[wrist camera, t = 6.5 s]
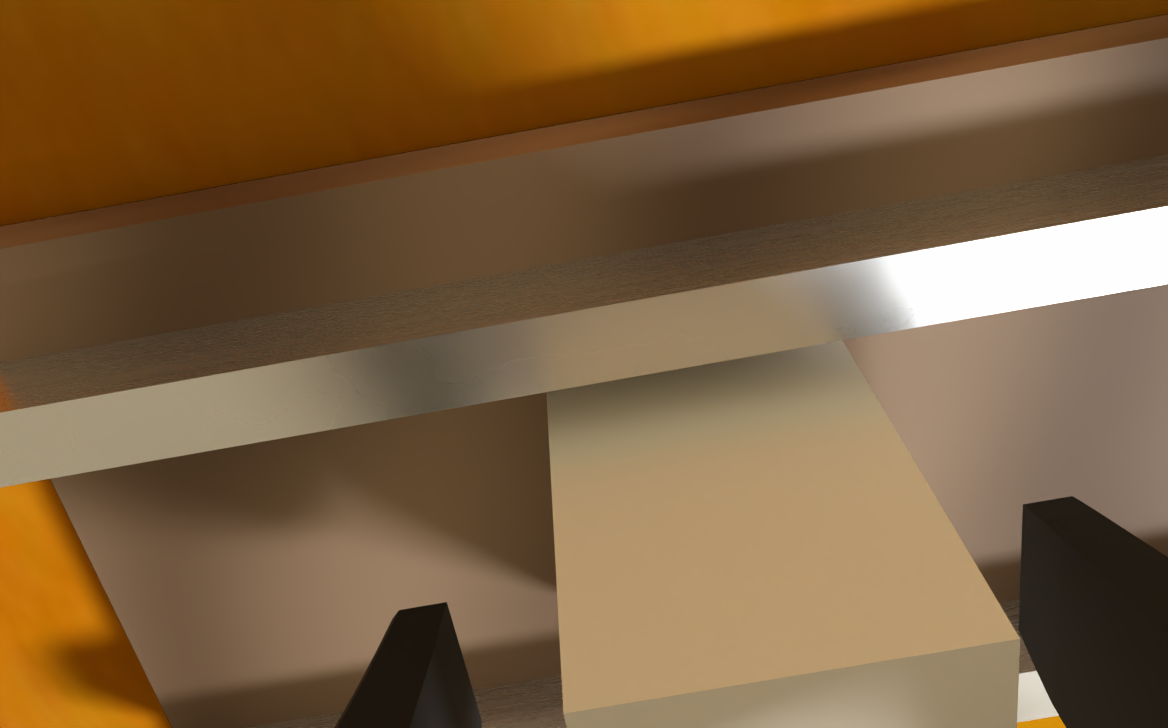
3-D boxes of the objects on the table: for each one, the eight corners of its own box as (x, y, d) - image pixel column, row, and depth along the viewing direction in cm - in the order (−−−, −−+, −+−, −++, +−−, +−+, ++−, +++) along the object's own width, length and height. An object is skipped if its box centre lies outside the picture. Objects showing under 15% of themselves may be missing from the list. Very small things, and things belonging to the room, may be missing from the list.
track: (1342, -18, 14) (1501, 18, 12) (1238, 628, 19) (1333, 738, 17) (-22, 230, 14) (-121, 310, 12) (240, 793, 19) (205, 921, 17)
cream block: (836, 330, 15) (1019, 637, 9) (849, 561, 16) (1009, 926, 11) (545, 380, 15) (563, 712, 9) (592, 604, 17) (628, 985, 11)
